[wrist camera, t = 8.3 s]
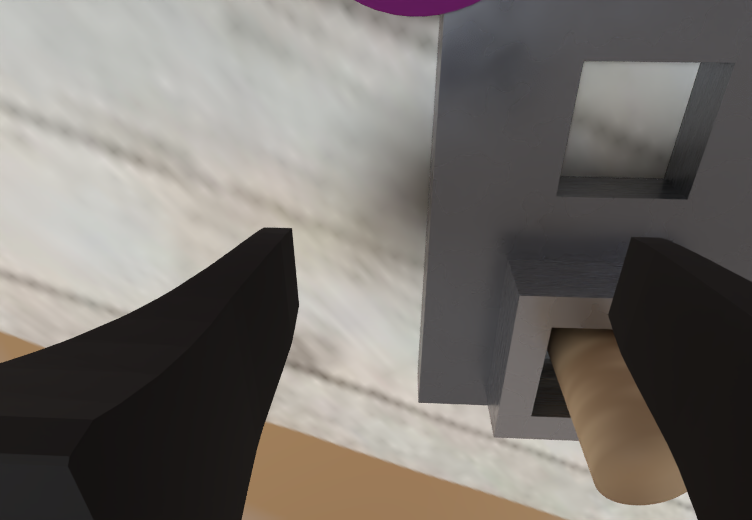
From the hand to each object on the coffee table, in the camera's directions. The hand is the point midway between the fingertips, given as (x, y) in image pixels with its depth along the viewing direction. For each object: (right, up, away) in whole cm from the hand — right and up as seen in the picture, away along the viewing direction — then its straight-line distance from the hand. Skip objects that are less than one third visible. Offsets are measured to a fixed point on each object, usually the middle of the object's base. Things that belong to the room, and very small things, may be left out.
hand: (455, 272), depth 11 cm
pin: (+7, -2, +13) cm, 15 cm away
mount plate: (+7, +2, +11) cm, 13 cm away
